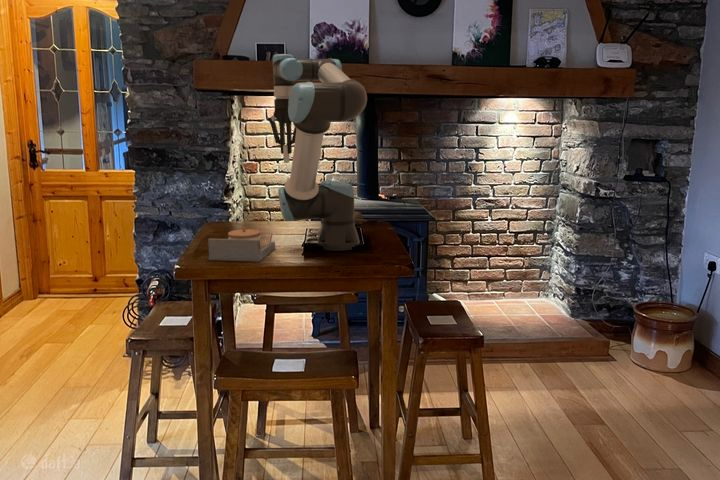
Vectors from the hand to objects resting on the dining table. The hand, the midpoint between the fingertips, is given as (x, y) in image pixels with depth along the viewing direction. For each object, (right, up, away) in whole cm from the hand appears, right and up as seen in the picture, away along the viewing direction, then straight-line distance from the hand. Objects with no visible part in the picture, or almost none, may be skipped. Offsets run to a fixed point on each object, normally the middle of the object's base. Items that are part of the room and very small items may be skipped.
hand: (286, 162), depth 242 cm
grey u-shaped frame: (-12, -34, -21) cm, 41 cm away
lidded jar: (-12, -34, -21) cm, 42 cm away
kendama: (+21, -24, +26) cm, 41 cm away
